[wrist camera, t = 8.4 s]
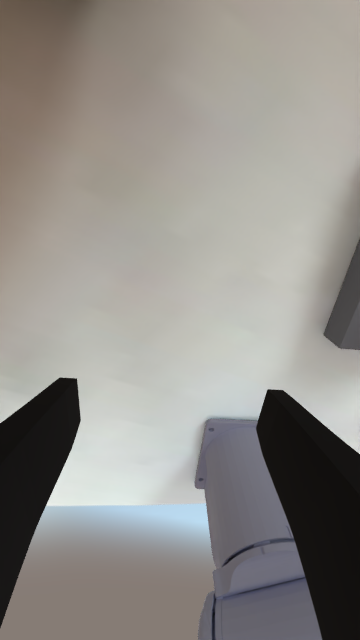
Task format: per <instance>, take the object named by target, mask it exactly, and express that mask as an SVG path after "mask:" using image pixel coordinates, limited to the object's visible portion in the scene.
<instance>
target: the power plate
mask: <svg viewBox="0 0 360 640" xmlns="http://www.w3.org/2000/svg"><path fill="white" fill-rule="evenodd" d="M324 336H325V337H326V338H328V339H329V340H330V341H331V342H332V343H334V344H335V345H336V346H337V347H338V348H341V349H355V350H360V240H359V243H358V246H357V248H356V251H355V253H354V256H353V259H352V261H351V264H350V267H349V269H348V272H347V275H346V277H345V280H344V282H343V285H342V288H341V290H340V293H339V296H338V298H337V301H336V304H335V306H334V309H333V311H332V314H331V317H330V319H329V322H328V325H327V327H326V330H325V333H324Z"/></svg>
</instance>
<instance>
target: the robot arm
mask: <svg viewBox="0 0 360 640" xmlns="http://www.w3.org/2000/svg"><path fill="white" fill-rule="evenodd" d="M80 421H81V419H80V408H79V397H78V385H77V379H75V378H59V379H57V380H56V381H55V382H53V383H52V384H51V385H50V386H48V387H47V388H46V389H45V390H43V391H42V392H41V393H39V394H38V395H37V396H36V397H34V398H33V399H32V400H31V401H29V402H28V403H27V404H25V405H24V406H23V407H21V408H20V409H19V410H18V411H16V412H15V413H14V414H12V415H11V416H10V417H8V418H7V419H6V420H4V421H3V422H1V423H0V627H1V625H2V622H3V619H4V616H5V613H6V610H7V607H8V604H9V601H10V598H11V595H12V592H13V590H14V587H15V584H16V581H17V578H18V575H19V572H20V570H21V567H22V564H23V561H24V559H25V556H26V553H27V551H28V548H29V545H30V542H31V539H32V537H33V534H34V532H35V529H36V527H37V525H38V522H39V520H40V517H41V515H42V513H43V511H44V509H45V506H46V504H47V502H48V500H49V498H50V495H51V493H52V491H53V489H54V487H55V484H56V482H57V480H58V478H59V476H60V473H61V471H62V469H63V467H64V464H65V462H66V460H67V458H68V456H69V453H70V451H71V449H72V446H73V443H74V440H75V437H76V434H77V430H78V427H79V424H80ZM209 428H211V429H209ZM195 487H196V488H197V489H205V498H206V506H207V514H208V522H209V530H210V538H211V548H212V555H213V559H214V563H215V566H216V568H217V569H216V570H214V571H213V579H214V589H215V591H212V592H210V593H208V595H207V596H206V599H205V602H204V606H203V609H202V612H201V616H200V621H199V630H198V640H360V454H359V453H358V452H356V451H355V450H354V449H352V448H351V447H350V446H349V445H347V444H346V443H345V442H344V441H342V440H341V439H340V438H339V437H338V436H336V435H335V434H334V433H333V432H332V431H330V430H329V429H328V428H327V427H326V426H324V425H323V424H322V423H321V422H320V421H319V420H317V419H316V418H315V417H314V416H313V415H312V414H311V413H309V412H308V411H307V410H306V409H305V408H304V407H302V406H301V405H300V404H299V403H298V402H297V401H295V400H294V399H293V398H292V397H291V396H290V395H288V394H287V393H286V392H284V391H283V390H269V389H268V390H267V393H266V396H265V400H264V403H263V406H262V410H261V413H260V416H259V419H258V421H248V420H226V419H209V420H207V421H206V425H205V430H204V436H203V441H202V446H201V451H200V457H199V462H198V467H197V472H196V478H195Z"/></svg>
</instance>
